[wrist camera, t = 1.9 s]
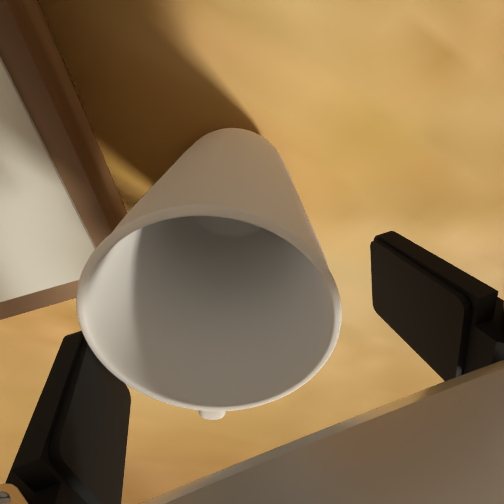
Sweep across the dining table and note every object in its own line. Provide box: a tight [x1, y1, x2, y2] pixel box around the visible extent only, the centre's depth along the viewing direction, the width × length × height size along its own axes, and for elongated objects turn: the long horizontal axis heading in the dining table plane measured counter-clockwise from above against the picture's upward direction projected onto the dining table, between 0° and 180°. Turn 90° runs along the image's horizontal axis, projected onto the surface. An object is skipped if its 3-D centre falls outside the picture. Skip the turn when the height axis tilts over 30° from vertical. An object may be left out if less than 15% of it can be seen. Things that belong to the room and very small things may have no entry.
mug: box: [76, 128, 342, 420], centre depth 14 cm, size 10×7×12 cm, turn 175°
